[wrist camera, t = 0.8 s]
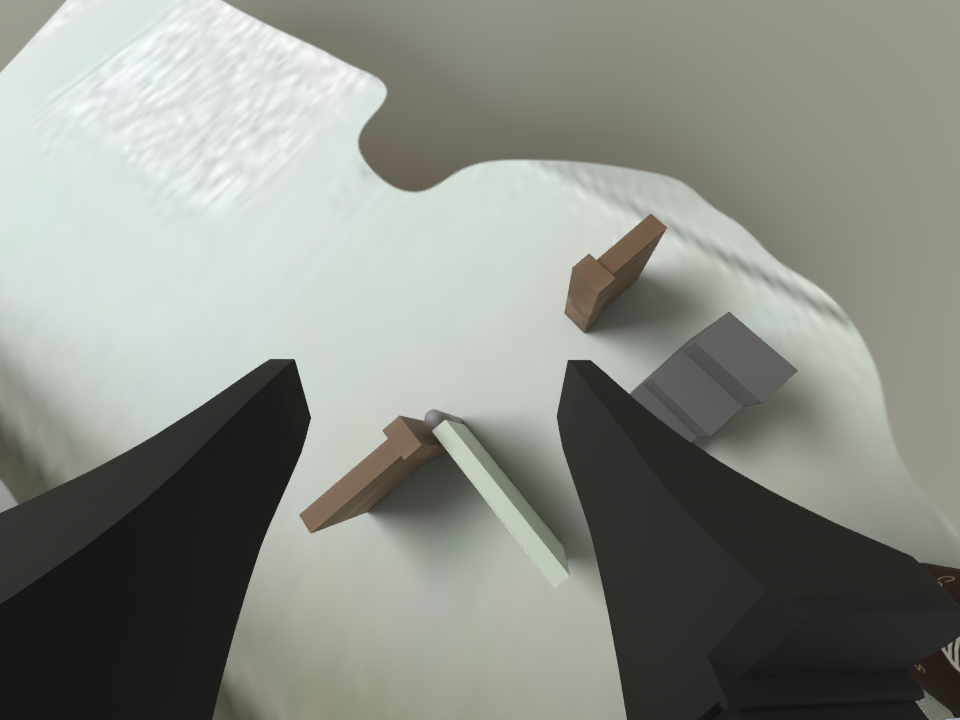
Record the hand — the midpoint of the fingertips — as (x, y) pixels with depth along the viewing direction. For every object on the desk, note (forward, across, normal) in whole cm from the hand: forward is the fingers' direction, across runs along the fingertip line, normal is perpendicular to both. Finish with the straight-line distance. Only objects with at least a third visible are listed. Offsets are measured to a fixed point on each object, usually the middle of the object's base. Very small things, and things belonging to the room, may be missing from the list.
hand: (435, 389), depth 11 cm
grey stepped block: (+11, -15, +10) cm, 22 cm away
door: (+9, -4, +15) cm, 18 cm away
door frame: (+14, -4, +11) cm, 18 cm away
